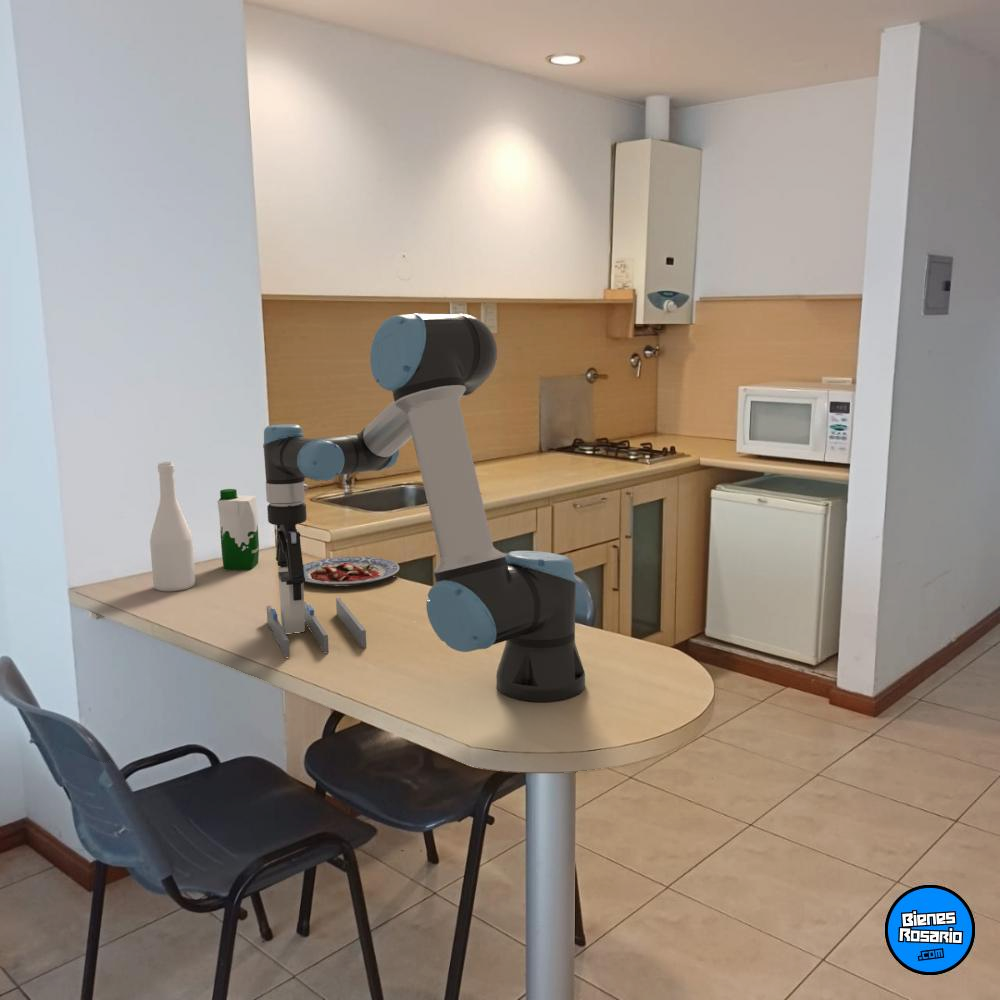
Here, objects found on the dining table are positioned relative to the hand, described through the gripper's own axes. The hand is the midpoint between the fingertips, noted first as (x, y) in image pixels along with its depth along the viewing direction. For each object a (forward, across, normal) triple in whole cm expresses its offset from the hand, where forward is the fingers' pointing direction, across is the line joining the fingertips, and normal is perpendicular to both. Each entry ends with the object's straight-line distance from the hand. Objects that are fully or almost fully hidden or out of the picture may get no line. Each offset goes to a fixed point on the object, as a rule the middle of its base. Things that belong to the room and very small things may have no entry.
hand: (291, 606), depth 195 cm
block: (+5, 0, 0) cm, 5 cm away
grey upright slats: (+5, -4, -4) cm, 8 cm away
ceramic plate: (+6, +38, -19) cm, 43 cm away
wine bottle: (+5, +45, +21) cm, 50 cm away
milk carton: (+5, +59, +4) cm, 59 cm away
